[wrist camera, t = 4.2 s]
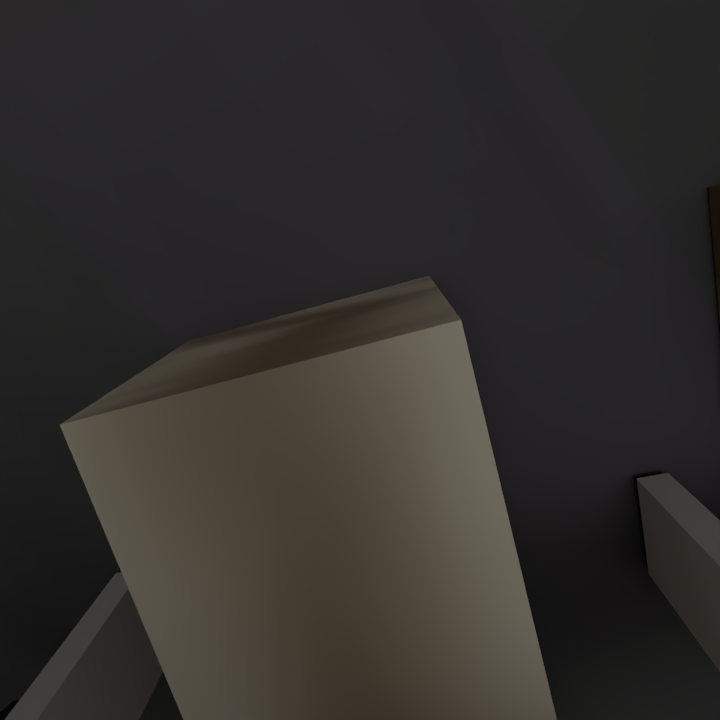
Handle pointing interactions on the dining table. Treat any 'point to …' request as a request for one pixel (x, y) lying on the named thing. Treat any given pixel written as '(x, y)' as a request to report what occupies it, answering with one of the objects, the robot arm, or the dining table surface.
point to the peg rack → (716, 233)
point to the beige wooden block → (318, 519)
